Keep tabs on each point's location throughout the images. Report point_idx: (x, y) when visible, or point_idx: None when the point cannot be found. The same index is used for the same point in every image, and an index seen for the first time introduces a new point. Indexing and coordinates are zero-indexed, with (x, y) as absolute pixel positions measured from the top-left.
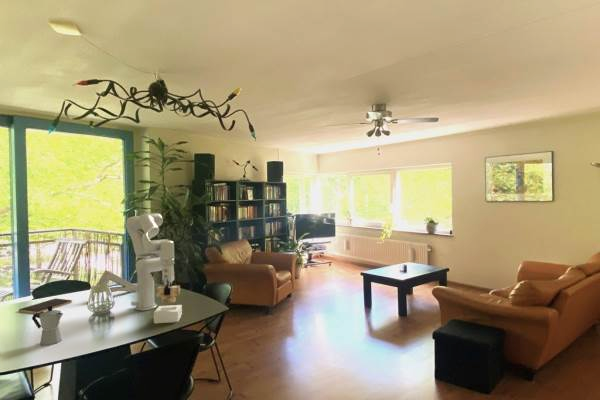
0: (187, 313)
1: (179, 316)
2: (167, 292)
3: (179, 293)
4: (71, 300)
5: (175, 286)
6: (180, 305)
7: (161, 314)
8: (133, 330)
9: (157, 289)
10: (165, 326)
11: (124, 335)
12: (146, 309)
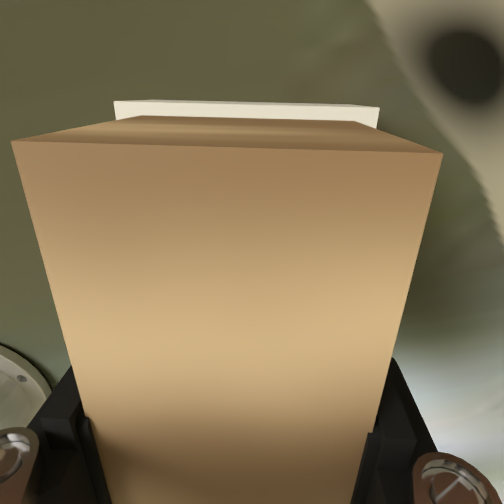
0: (115, 44)
1: (276, 103)
2: (398, 385)
3: (222, 118)
4: None
5: (178, 301)
6: (141, 114)
7: None
8: (414, 373)
9: None
10: None
11: (478, 397)
12: (43, 384)
